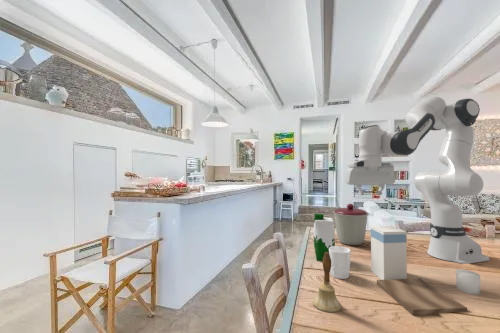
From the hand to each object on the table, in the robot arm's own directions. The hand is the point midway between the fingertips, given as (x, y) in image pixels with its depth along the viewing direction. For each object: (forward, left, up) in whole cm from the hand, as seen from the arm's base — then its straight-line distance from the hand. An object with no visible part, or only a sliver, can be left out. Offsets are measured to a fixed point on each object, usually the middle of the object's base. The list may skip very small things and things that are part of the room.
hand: (370, 195), depth 105 cm
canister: (-4, -28, -30) cm, 41 cm away
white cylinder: (-19, +25, -29) cm, 43 cm away
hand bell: (+30, +29, -30) cm, 51 cm away
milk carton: (+18, -7, -30) cm, 35 cm away
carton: (0, +12, -29) cm, 32 cm away
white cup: (+18, +10, -30) cm, 36 cm away
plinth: (0, +27, -29) cm, 40 cm away
